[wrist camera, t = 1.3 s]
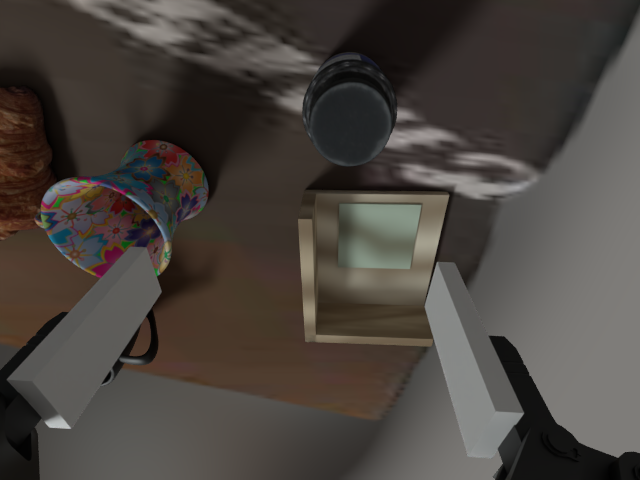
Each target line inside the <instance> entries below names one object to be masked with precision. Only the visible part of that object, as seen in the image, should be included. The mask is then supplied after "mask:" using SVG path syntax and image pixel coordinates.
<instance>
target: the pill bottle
mask: <svg viewBox="0 0 640 480" xmlns="http://www.w3.org/2000/svg"><path fill="white" fill-rule="evenodd" d="M302 114H303V122H304V126H305V130H306V132H307V134H308V136H309V138H310V140H311V141H312V143H313V144H314V146H315V147H316V149H317V150H318V152H319V153H320V154H321V155H322V156H323V157H324V158H326V159H327V160H329V161H330V162H332V163H334V164H337V165H341V166H357V165H362V164H364V163H367V162H368V161H371V160H372V159H374V158H375V157H376V156H377V155H378V154H379V153H380V152H381V151H382V150H383V148H384V147H385V145H386V144H387V142H388V140H389V137H390V134H391V133H392V130H393V128H394V126H395V122H396V118H397V100H396V96H395V92H394V89H393V86H392V84H391V83H390V81H389V80H388V78H387V77H386V75H385V74H384V73H383V72H382V71H381V70H380V68H379V67H378V66H377V65H376V64H375V62H374V61H372V60H371V59H370V58H368V57H367V56H365V55H363V54H361V53H357V52H344V53H340V54H337V55H334V56H332V57H330V58H329V59H328V60H327V61H325V62H324V63H323V64H322V66H321V67H320V68H319V70H318V71H317V73H316V75H315V76H314V78H313V80H312V82H311V83H310V85H309V87H308V89H307V92H306V94H305V97H304V101H303V111H302Z"/></svg>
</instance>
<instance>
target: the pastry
mask: <svg viewBox="0 0 640 480" xmlns="http://www.w3.org/2000/svg"><path fill="white" fill-rule="evenodd" d="M51 161H52V148H51V147H50V145H49V144H48V142H47V139H46V134H45V126H44V112H43V107H42V104H41V101H40V99H39V97H38V96H37V95H36V93H35V92H34V91H33V90H32V89H30V88H28V87H26V86H21V87H13V86H12V87H10V88H2V87H0V241H1V240H6V239H7V238H9V237H11V236H13V235H15V234H16V233H17V232H18V231H19V230H27V229H34V228H40V226H38V225H37V224H36V222H35V219H34V218H35V216H36V214H38V213H39V212H40V211H41V203H42V199H43V197H44V195H45V193H46V192H47V191H48V189H49V188H50V187H52V186H53V185H54V184H56V183H57V177H56V174H55V173H54V171H53V170H52V167H51V164H50V162H51Z"/></svg>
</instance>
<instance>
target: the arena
mask: <svg viewBox="0 0 640 480" xmlns="http://www.w3.org/2000/svg"><path fill="white" fill-rule="evenodd" d="M448 199H449V194H448V192H439V191H357V190H305V191H304V195H303V199H302V204H301V208H300V213H299V217H298V225H299V242H300V259H301V276H302V293H303V310H304V327H305V342H329V343H356V344H382V345H408V346H432V342H433V336H432V333H431V329H430V326H429V322H428V319H427V315H426V312H425V308H424V303H425V298H426V294H427V290H428V285H429V281H430V277H431V272H432V268H433V264H434V259H435V255H436V251H437V246H438V242H439V238H440V233H441V229H442V225H443V220H444V216H445V212H446V207H447V203H448Z"/></svg>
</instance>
